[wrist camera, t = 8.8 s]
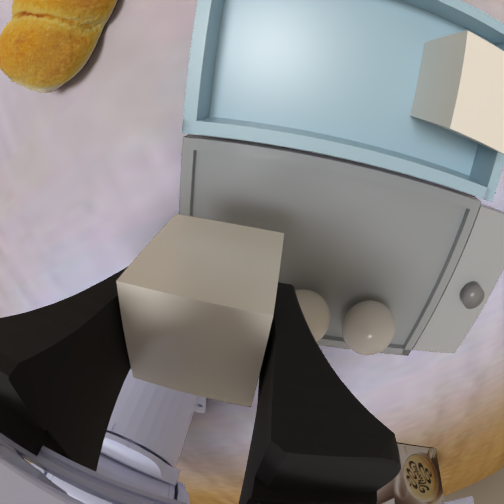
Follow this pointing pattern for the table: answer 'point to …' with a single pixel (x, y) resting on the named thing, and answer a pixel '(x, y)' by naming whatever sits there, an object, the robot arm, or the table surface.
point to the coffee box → (414, 478)
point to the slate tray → (356, 234)
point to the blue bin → (334, 82)
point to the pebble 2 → (368, 327)
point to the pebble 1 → (314, 312)
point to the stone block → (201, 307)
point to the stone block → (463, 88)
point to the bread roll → (51, 40)
